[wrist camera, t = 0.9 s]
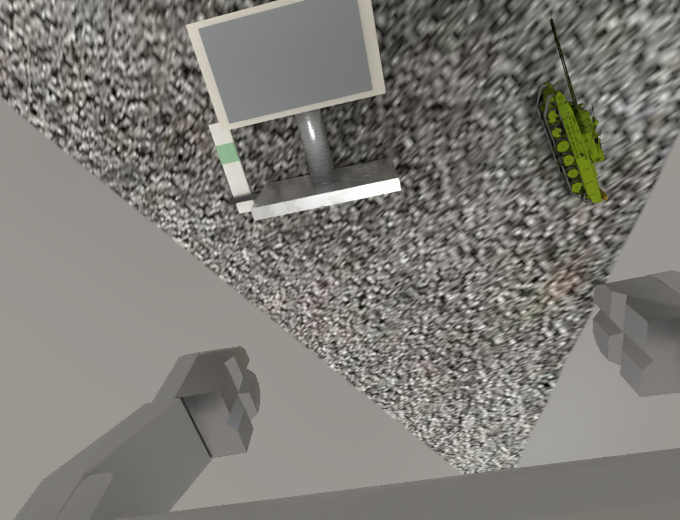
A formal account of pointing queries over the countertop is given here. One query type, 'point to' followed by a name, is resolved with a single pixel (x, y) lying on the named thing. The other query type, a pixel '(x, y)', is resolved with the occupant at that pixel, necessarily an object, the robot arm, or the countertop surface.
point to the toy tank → (572, 138)
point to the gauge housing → (283, 66)
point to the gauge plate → (321, 177)
